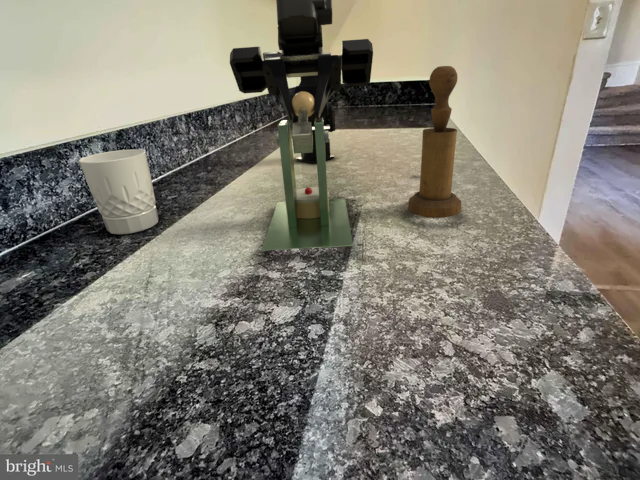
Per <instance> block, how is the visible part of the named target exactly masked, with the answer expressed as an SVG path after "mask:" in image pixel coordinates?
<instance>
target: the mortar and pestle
mask: <svg viewBox="0 0 640 480" xmlns="http://www.w3.org/2000/svg"><path fill="white" fill-rule="evenodd" d="M457 83H458V72H457V70H456V69H455V68H454V67H453V66H451V65H439V66H437V67H435V68H434V69H433V70H432V72H431V73H430V76H429V79H428V85H429V87H430V89H431V92H432V94H433V96H434V98H435V99H434V100H435V103H434V107H432V108H431V109H430V113H431V118H432V124H433V127H430V128H424V129H422V137H421V139H422V141H421V142H422V143H421V158H420V159H421V161H420V162H421V163H420V176H419V178H420V179H419V191H417V192H415V193H414V194H413V195H412V196H410V197H409V198H408V201H407V202H408V203H407V209H408V211H409V212H410V213H412V214H414V215H417V216H419V217H424V218H437V219H438V218H439V219H440V218H449V217H454V216H457V215H459V214H460V213H461V211H462V200H461V199H460V198H459V197H458V196H457V194H455V193H454V192H452V190H453V176H454V165H455V155H456V145H457V136H458V129H457V128H453V127H447V126H448V123H449V121H450V118H451V115H452V110H453V108H452V107H451V106H450V105H449V104H450V103H449V100H450V96H451V94H452V92H453V91H454V89H455V87H456V85H457Z"/></svg>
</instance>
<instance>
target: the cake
mask: <svg viewBox="0 0 640 480" xmlns="http://www.w3.org/2000/svg"><path fill="white" fill-rule="evenodd" d="M296 192H297V198H296V202H297V212H298V218H301V219H313V218H318V217H320V203H319V188H318V187H302V188H297V189H296ZM327 192H328V211H329V199H330V198H329V197H330V191H329V190H328V189H327Z"/></svg>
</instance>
